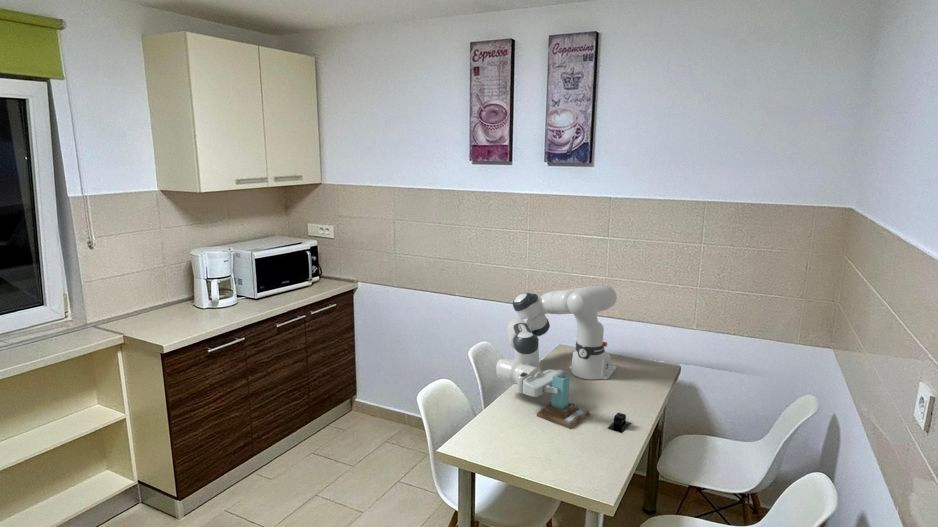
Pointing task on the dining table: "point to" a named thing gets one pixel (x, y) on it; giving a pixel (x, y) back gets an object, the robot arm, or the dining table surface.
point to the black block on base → (619, 423)
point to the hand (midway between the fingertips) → (562, 388)
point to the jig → (563, 415)
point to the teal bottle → (561, 390)
